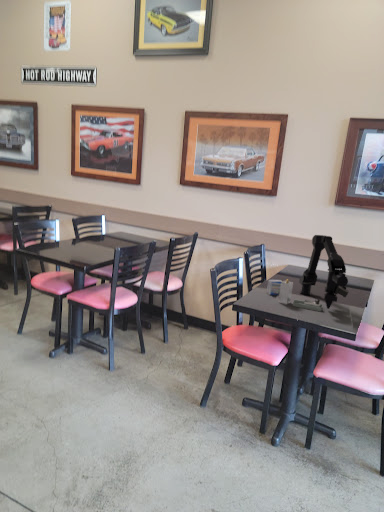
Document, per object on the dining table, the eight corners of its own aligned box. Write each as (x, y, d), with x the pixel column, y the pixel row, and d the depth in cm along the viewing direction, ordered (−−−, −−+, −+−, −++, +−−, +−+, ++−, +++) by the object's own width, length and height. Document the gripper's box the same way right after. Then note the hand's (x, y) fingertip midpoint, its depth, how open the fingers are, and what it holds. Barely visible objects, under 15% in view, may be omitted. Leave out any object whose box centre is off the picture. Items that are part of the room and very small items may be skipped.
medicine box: (269, 295, 225) (271, 281, 223) (266, 292, 229) (268, 279, 227) (281, 295, 227) (283, 281, 226) (277, 292, 232) (279, 279, 230)
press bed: (277, 296, 224) (278, 291, 223) (321, 304, 216) (322, 299, 215) (274, 305, 208) (274, 299, 207) (320, 314, 200) (321, 308, 199)
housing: (282, 300, 213) (285, 277, 210) (290, 302, 210) (293, 279, 207) (278, 302, 209) (281, 279, 206) (286, 304, 206) (289, 281, 204)
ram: (304, 305, 208) (305, 296, 207) (319, 307, 206) (320, 299, 205) (303, 307, 205) (304, 298, 204) (318, 310, 202) (320, 301, 201)
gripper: (349, 288, 188) (344, 317, 191) (348, 279, 205) (343, 306, 208) (326, 284, 191) (321, 312, 195) (326, 276, 208) (322, 302, 212)
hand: (328, 308), depth 202 cm, fingers closed
